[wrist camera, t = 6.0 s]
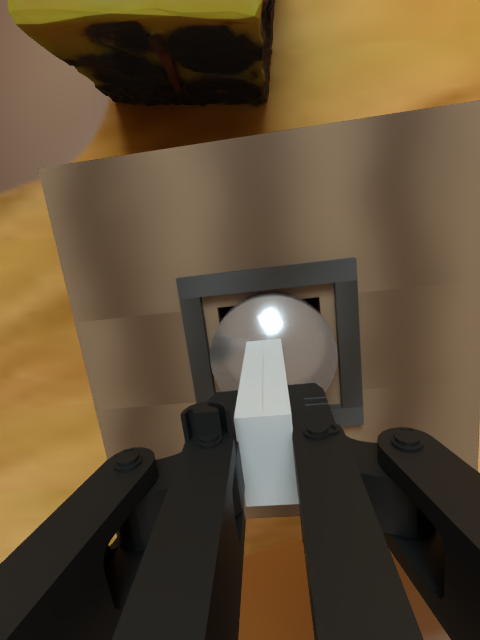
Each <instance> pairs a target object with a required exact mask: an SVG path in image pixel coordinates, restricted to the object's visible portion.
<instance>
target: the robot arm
mask: <svg viewBox="0 0 480 640" xmlns="http://www.w3.org/2000/svg"><path fill="white" fill-rule="evenodd" d="M180 416H181V422H182V427H183V433H184V438H185V444H184V447H183V449H182V452H180V453H178V454H175V455H172V456H169V457H165V458H162V459H158V460H156V459H155V454H154V452H153V451H152V450H151V449H148V448H144V447H136V448H135V447H133V448H130V449H125V450H123V451H121V452H119V453H117V454H115V455H113V456H112V457H111V458H109V459H108V460H107V461H106V462H105V463H104V464H103V465H102V466H101V467H100V468H98V469H97V470H96V471H95V472H94V473H93V474H92V475H91V476H90V477H89V478H88V479H87V480H86V481H85V482H84V483H83V484H82V485H81V486H80V487H79V488H78V489H77V490H76V491H75V492H74V493H73V494H72V495H71V496H70V497H69V498H68V499H67V500H66V501H65V502H64V503H63V504H62V505H60V506H59V507H58V508H57V509H56V510H55V511H54V512H53V513H52V514H51V515H50V516H49V517H48V518H47V519H46V520H45V521H44V522H43V523H42V524H41V525H40V526H39V527H38V528H37V529H36V530H35V531H34V532H33V533H32V534H31V535H30V536H29V537H28V538H27V539H26V540H25V541H23V542H22V543H21V544H20V545H19V546H18V547H17V548H16V549H15V550H14V551H13V552H12V553H11V554H10V555H9V556H8V557H7V558H6V559H5V560H4V561H3V562H2V563H1V564H0V640H238V634H239V633H238V632H239V618H240V602H241V587H242V571H243V556H244V540H245V524H246V520H245V513H244V506H243V504H244V496H245V503H246V507H250V506H269V505H289V504H299V509H300V519H301V529H302V539H303V544H304V553H305V561H306V570H307V578H308V587H309V596H310V604H311V613H312V621H313V630H314V639H315V640H423V637H422V634H421V632H420V629H419V626H418V624H417V621H416V619H415V616H414V613H413V611H412V608H411V605H410V603H409V600H408V598H407V595H406V593H405V590H404V587H403V585H402V582H401V579H400V577H399V574H398V571H397V569H396V566H395V563H394V561H393V558H392V556H391V553H390V551H391V552H392V554H393V555H394V557H395V558H396V560H397V561H398V562H399V564H400V565H401V567H402V568H403V570H404V571H405V573H406V574H407V576H408V577H409V579H410V580H411V582H412V583H413V585H414V586H415V587H416V589H417V590H418V592H419V593H420V595H421V596H422V598H423V599H424V601H425V602H426V604H427V605H428V606H429V608H430V609H431V611H432V612H433V614H434V615H435V617H436V618H437V620H438V621H439V622H440V624H441V625H442V627H443V628H444V630H445V631H446V633H447V634H448V636H449V637H450V639H451V640H480V473H479V472H478V471H476V470H475V469H474V468H472V467H471V466H470V465H469V464H467V463H466V462H465V461H463V460H462V459H461V458H460V457H458V456H457V455H456V454H454V453H453V452H452V451H450V450H449V449H448V448H447V447H445V446H444V445H443V444H441V443H440V442H439V441H438V440H436V439H435V438H434V437H432V436H431V435H429V434H427V433H425V432H423V431H420V430H417V429H414V428H409V427H407V428H406V427H398V428H390V429H387V430H385V431H382V432H381V433H380V434H379V435H378V439H377V443H372V442H365V441H359V440H355V439H352V438H349V437H348V436H346V435H345V432H344V430H343V429H342V428H341V426H340V425H338V424H336V423H335V420H334V417H333V414H332V412H331V409H330V406H329V404H328V400H327V398H326V395H325V392H324V389H323V388H322V387H320V386H319V385H317V384H316V383H306V384H294V385H287V379H286V372H285V364H284V357H283V350H282V343H281V338H280V339H269V340H259V341H249V342H246V348H245V354H244V360H243V366H242V372H241V378H240V384H239V390H236V391H224V392H216V393H215V394H214V395H213V396H212V397H211V398H210V399H209V400H208V401H204V402H199V403H196V404H193V405H191V406H189V407H187V408H186V409H184V410H183V411H182V413H181V414H180ZM115 534H117V538H116V540H115V541H114V542H113V543H112V544H111V545H110V546H108V544H109V542H110V540H111V539H112V537H113V536H114V535H115ZM389 549H390V550H389Z"/></svg>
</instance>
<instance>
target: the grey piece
mask: <svg viewBox="0 0 480 640" xmlns="http://www.w3.org/2000/svg"><path fill="white" fill-rule="evenodd" d="M280 338H281V343H282V350H283V357H284V364H285V372H286V379H287V385H294V384H306V383H316V384H317V385H319V386H320V387H322V388H323V389H324V392H326V391H327V389H328V388H329V386H330V385H331V383H332V380H333V378H334V375H335V372H336V368H337V362H338V353H337V345H336V342H335V338H334V336H333V333H332V331H331V329H330V328H329V326H328V324H327V323H326V321H325V319H324V318H323V316H322V315H321V314H320V313H319V312H318V310H316V309H315V308H314V307H313V306H312V305H311V304H309V303H308V302H306V301H305V300H303V299H301V298H299V297H296V296H294V295H291V294H286V293H280V292H266V293H260V294H256V295H253V296H250V297H248V298H246V299H244V300H242V301H240V302H239V303H237V304H236V305H235V306H234V307H232V308H231V309H230V310H229V311H228V312H227V313H226V315H225V316H224V318H223V319H222V320H221V322H220V324H219V326H218V328H217V330H216V332H215V334H214V337H213V340H212V344H211V349H210V363H211V369H212V373H213V375H214V378H215V380H216V382H217V384H218V386H219V388H220V389H221V390H222V392H224V391H236V390H239V384H240V378H241V372H242V366H243V360H244V354H245V348H246V342H249V341H259V340H269V339H280Z"/></svg>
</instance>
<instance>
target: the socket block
mask: <svg viewBox="0 0 480 640" xmlns="http://www.w3.org/2000/svg"><path fill="white" fill-rule="evenodd" d="M38 171H39V175H40V179H41V183H42V188H43V192H44V196H45V200H46V204H47V208H48V213H49V217H50V221H51V225H52V229H53V234H54V238H55V242H56V246H57V250H58V254H59V259H60V263H61V267H62V271H63V275H64V280H65V284H66V288H67V292H68V296H69V300H70V305H71V309H72V313H73V317H74V321H75V325H76V330H77V334H78V338H79V342H80V346H81V351H82V355H83V359H84V363H85V367H86V371H87V376H88V380H89V384H90V388H91V392H92V397H93V401H94V405H95V409H96V413H97V417H98V422H99V426H100V430H101V434H102V438H103V442H104V447H105V451H106V455H107V459H109V458H111V457H112V456H113V455H115V454H117V453H119V452H121V451H123V450H125V449H130V448H133V447H135V448H136V447H144V448H148V449H151V450H152V451H153V452H154V454H155V459H156V460H158V459H162V458H165V457H169V456H172V455H175V454H178V453H180V452H182V449H183V447H184V444H185V438H184V433H183V427H182V422H181V416H180V414H181V413H182V411H183V410H184V409H186V408H187V407H189V406H191V405H193V404H196V403H199V402H204V401H208V400H209V399H210V398H211V397H212V396H213V395H214V394H215V393H216V392H222V390H221V389H220V388H219V386H218V384H217V382H216V380H215V378H214V375H213V373H212V369H211V363H210V349H211V344H212V340H213V337H214V334H215V332H216V330H217V328H218V326H219V324H220V322H221V320H222V319H223V318H224V316H225V315H226V313H227V312H228V311H229V310H230V309H231V308H232V307H234V306H235V305H236V304H237V303H239V302H240V301H242V300H244V299H246V298H248V297H250V296H253V295H256V294H260V293H266V292H280V293H286V294H291V295H294V296H296V297H299V298H301V299H303V300H305V301H306V302H308V303H309V304H311V305H312V306H313V307H314V308H315V309H316V310H318V312H319V313H320V314H321V315H322V316H323V318H324V319H325V321H326V323H327V324H328V326H329V328H330V329H331V331H332V333H333V336H334V338H335V342H336V345H337V353H338V362H337V368H336V372H335V375H334V378H333V380H332V383H331V385H330V386H329V388H328V389H327V391H326V392H325V395H326V398H327V400H328V404H329V406H330V409H331V412H332V414H333V417H334V420H335V423H336V424H338V425H340V426H341V428H342V429H343V430H344V432H345V435H346V436H348V437H349V438H352V439H355V440H359V441H365V442H372V443H377V439H378V435H379V434H380V433H381V432H382V431H385V430H387V429H390V428H398V427H406V428H407V427H409V428H414V429H417V430H420V431H423V432H425V433H427V434H429V435H431V436H432V437H434V438H435V439H436V440H438V441H439V442H440V443H441V444H443V445H444V446H445V447H447V448H448V449H449V450H450V451H452V452H453V453H454V454H456V455H457V456H458V457H460V458H461V459H462V460H463V461H465V462H466V463H467V464H469V465H470V466H471V467H472V468H474V469H475V470H476V471H478V448H479V422H480V100H477V101H471V102H464V103H458V104H451V105H445V106H439V107H432V108H426V109H419V110H413V111H406V112H400V113H393V114H387V115H380V116H374V117H367V118H361V119H355V120H348V121H342V122H335V123H329V124H322V125H316V126H309V127H303V128H296V129H290V130H283V131H277V132H271V133H264V134H258V135H251V136H245V137H238V138H232V139H225V140H219V141H212V142H206V143H199V144H193V145H187V146H180V147H174V148H167V149H161V150H154V151H148V152H141V153H135V154H128V155H122V156H115V157H109V158H103V159H96V160H90V161H83V162H77V163H70V164H64V165H57V166H51V167H45V168H38ZM243 506H244V513H245V518H262V517H287V516H300V509H299V504H289V505H269V506H250V507H246V503H245V496H244V504H243Z"/></svg>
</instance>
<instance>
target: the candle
mask: <svg viewBox="0 0 480 640" xmlns="http://www.w3.org/2000/svg"><path fill="white" fill-rule="evenodd" d="M7 3H8V12H9V14H10V16H11V17H12V19H13V20H14V22H15V23H16V25H18V27H19V28H20V29H22V30H23V31H24V32H25V33H26V34H27V35H28V36H29V37H31V38H32V39H34V40H35V41H36V42H37V43H38V44H40V45H41V46H42V47H44V48H45V49H46V50H48V51H49V52H50V53H52V54H53V55H55V56H56V57H58V58H59V59H61V60H63V61H65V62H66V63H67V64H68V65H70V66H71V65H72V66H75V68H76V69H77V70H78V72H79V73H81V74H83V75H85V76H86V77H88V78H89V79H90V80H91V81H93V82H94V84H95V87H96V88H97V89H98V90H99V91H101V92H102V93H103V94H105V95H106V96H109V97H110V98H111V99H112V101H113V102H118V103H126V104H138V103H143V104H145V105H147V106H149V105H158V104H160V103H163V104H165V105H168V104H174V105H178V104H186V105H195V104H199V105H201V106H204V105H206V104H219V103H224V104H251V105H254V106H257V107H258V106H259V105H261V104H263V103H265V102H267V98H268V93H269V79H270V63H271V62H270V57H271V54H272V50H271V46H272V41H273V17H274V3H275V0H7Z"/></svg>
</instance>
